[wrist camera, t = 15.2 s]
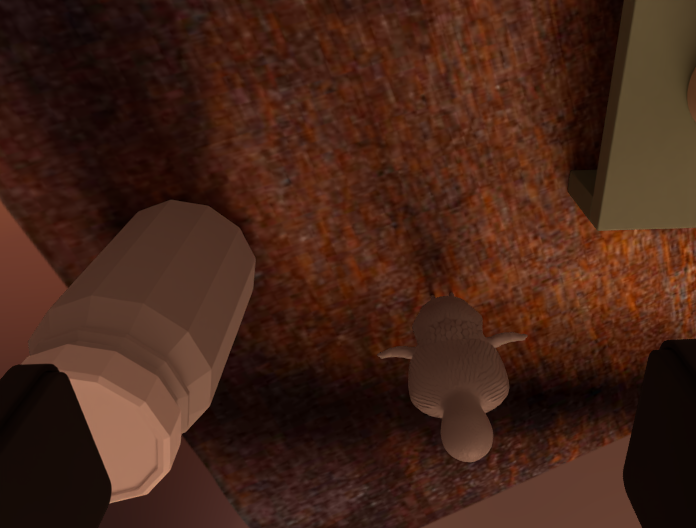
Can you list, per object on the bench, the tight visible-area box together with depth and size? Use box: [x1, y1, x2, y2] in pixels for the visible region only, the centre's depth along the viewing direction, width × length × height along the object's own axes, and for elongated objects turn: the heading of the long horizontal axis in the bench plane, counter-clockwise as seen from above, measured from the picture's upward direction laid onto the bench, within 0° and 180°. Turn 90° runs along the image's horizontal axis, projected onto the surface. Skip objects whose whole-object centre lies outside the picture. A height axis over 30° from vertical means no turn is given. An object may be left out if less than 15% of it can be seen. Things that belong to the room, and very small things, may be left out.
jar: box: [21, 200, 256, 503], centre depth 34 cm, size 10×10×18 cm
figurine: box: [377, 293, 528, 462], centre depth 36 cm, size 9×4×15 cm, turn 101°
